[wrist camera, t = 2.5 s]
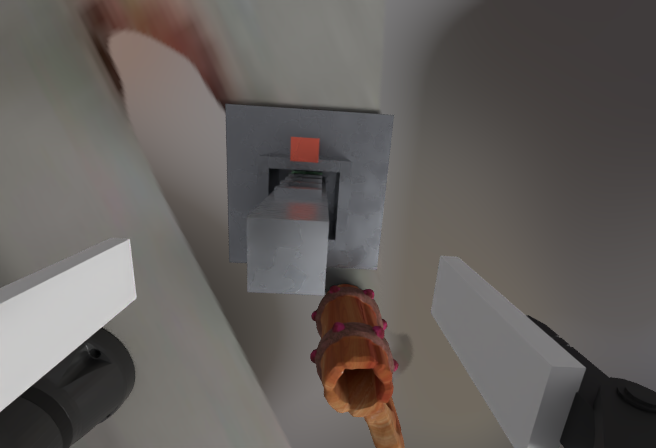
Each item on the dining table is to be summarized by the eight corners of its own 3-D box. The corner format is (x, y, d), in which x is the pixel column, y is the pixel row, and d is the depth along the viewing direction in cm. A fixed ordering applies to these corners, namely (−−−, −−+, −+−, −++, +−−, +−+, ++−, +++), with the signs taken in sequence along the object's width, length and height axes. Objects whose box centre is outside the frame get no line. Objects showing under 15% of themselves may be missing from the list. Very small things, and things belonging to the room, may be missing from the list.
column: (288, 209, 35) (247, 291, 16) (289, 169, 34) (246, 205, 15) (323, 211, 35) (324, 295, 16) (325, 171, 34) (330, 209, 15)
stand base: (231, 259, 38) (204, 294, 29) (228, 104, 33) (194, 91, 24) (375, 266, 38) (390, 302, 30) (391, 115, 34) (415, 106, 25)
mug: (303, 287, 39) (292, 373, 24) (362, 262, 38) (386, 336, 24) (347, 373, 43) (360, 493, 28) (401, 353, 42) (444, 465, 27)
